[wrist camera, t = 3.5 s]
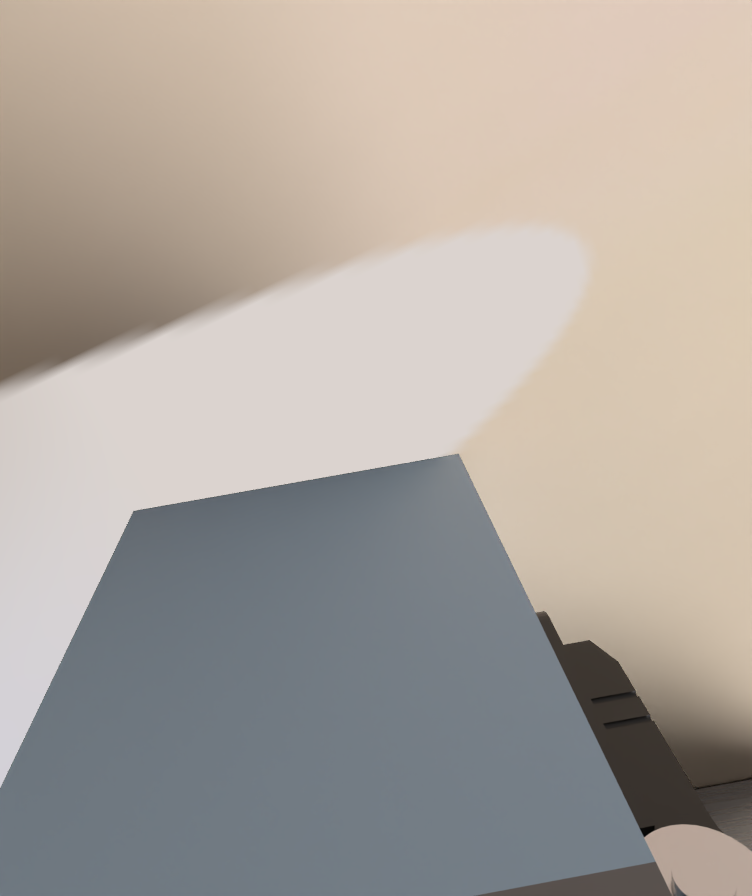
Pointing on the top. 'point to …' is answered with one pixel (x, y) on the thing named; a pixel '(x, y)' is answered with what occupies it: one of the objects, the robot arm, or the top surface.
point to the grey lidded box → (316, 712)
